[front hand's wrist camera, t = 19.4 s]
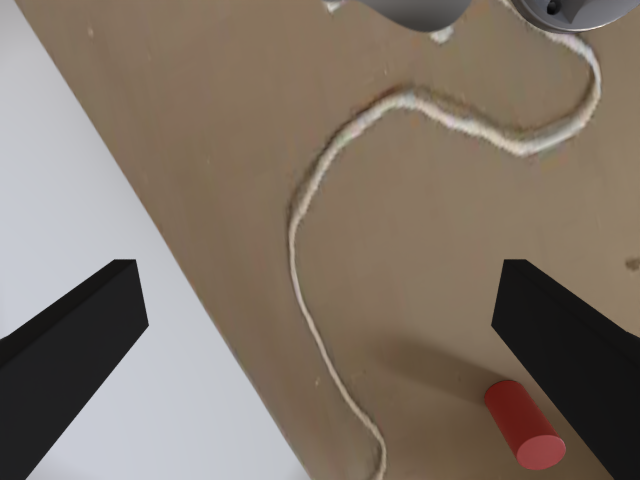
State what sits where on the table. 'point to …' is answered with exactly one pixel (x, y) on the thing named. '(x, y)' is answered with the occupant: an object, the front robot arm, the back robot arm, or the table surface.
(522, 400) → the cylinder
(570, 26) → the front robot arm
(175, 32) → the table surface
